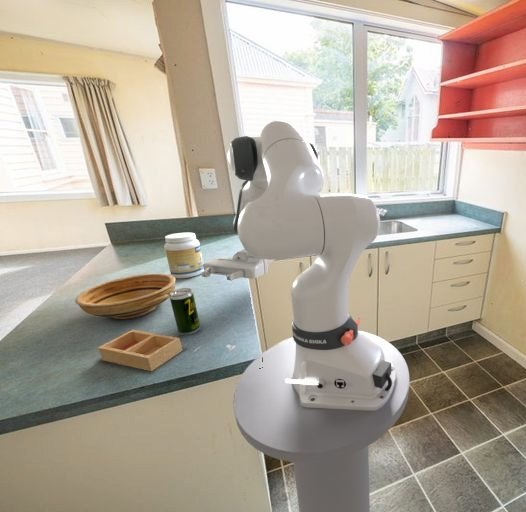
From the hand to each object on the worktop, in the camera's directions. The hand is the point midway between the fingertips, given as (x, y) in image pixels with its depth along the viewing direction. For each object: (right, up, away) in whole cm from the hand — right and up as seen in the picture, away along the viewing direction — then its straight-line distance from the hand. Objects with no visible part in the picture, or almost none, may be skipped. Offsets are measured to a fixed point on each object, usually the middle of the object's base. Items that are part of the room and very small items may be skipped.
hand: (215, 276), depth 91 cm
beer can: (-3, -15, -8) cm, 17 cm away
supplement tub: (-31, -1, +34) cm, 46 cm away
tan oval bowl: (-28, -11, +4) cm, 30 cm away
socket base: (-7, -18, -18) cm, 27 cm away
